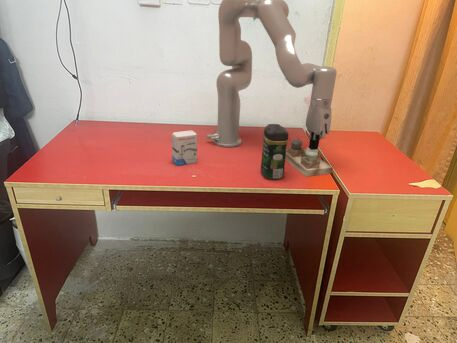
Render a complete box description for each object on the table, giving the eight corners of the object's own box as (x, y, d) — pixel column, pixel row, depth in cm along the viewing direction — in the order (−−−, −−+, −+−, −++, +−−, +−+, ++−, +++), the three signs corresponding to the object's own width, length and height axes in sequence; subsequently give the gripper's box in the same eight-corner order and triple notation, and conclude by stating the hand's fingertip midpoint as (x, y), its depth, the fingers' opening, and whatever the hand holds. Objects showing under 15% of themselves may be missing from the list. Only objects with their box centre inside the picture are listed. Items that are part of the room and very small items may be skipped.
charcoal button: (293, 154, 135) (294, 144, 133) (288, 149, 138) (289, 140, 136) (303, 153, 136) (304, 143, 134) (297, 148, 140) (299, 139, 138)
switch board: (305, 176, 125) (307, 164, 123) (282, 157, 141) (283, 145, 138) (331, 173, 129) (333, 161, 127) (306, 154, 144) (307, 143, 142)
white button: (309, 161, 132) (310, 151, 130) (303, 156, 135) (304, 147, 134) (319, 160, 133) (320, 150, 131) (313, 155, 137) (314, 146, 135)
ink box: (176, 166, 129) (175, 136, 123) (172, 161, 133) (171, 132, 127) (197, 162, 132) (197, 134, 127) (192, 157, 136) (192, 129, 131)
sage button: (308, 165, 125) (309, 155, 123) (301, 160, 129) (303, 150, 127) (318, 164, 127) (320, 154, 125) (312, 159, 130) (313, 149, 129)
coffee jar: (257, 169, 129) (262, 122, 121) (278, 168, 131) (283, 122, 123) (264, 181, 121) (269, 131, 113) (285, 180, 122) (292, 131, 114)
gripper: (341, 107, 119) (332, 155, 127) (318, 96, 132) (311, 141, 140) (323, 108, 117) (315, 157, 125) (301, 97, 129) (295, 142, 137)
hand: (313, 148), depth 132 cm, fingers closed
